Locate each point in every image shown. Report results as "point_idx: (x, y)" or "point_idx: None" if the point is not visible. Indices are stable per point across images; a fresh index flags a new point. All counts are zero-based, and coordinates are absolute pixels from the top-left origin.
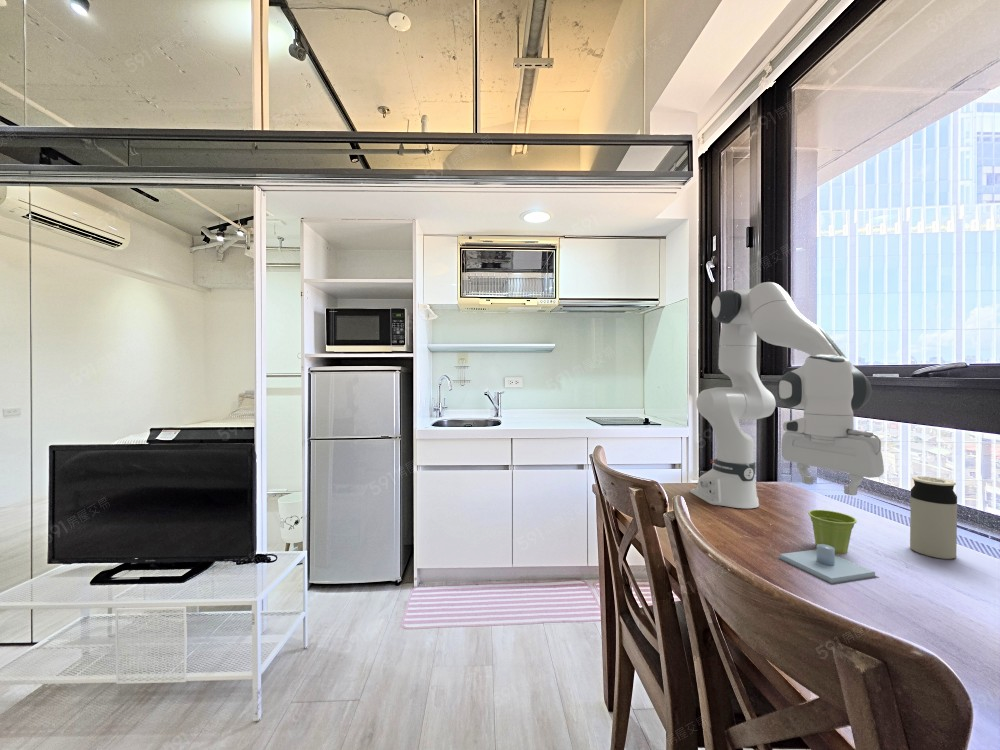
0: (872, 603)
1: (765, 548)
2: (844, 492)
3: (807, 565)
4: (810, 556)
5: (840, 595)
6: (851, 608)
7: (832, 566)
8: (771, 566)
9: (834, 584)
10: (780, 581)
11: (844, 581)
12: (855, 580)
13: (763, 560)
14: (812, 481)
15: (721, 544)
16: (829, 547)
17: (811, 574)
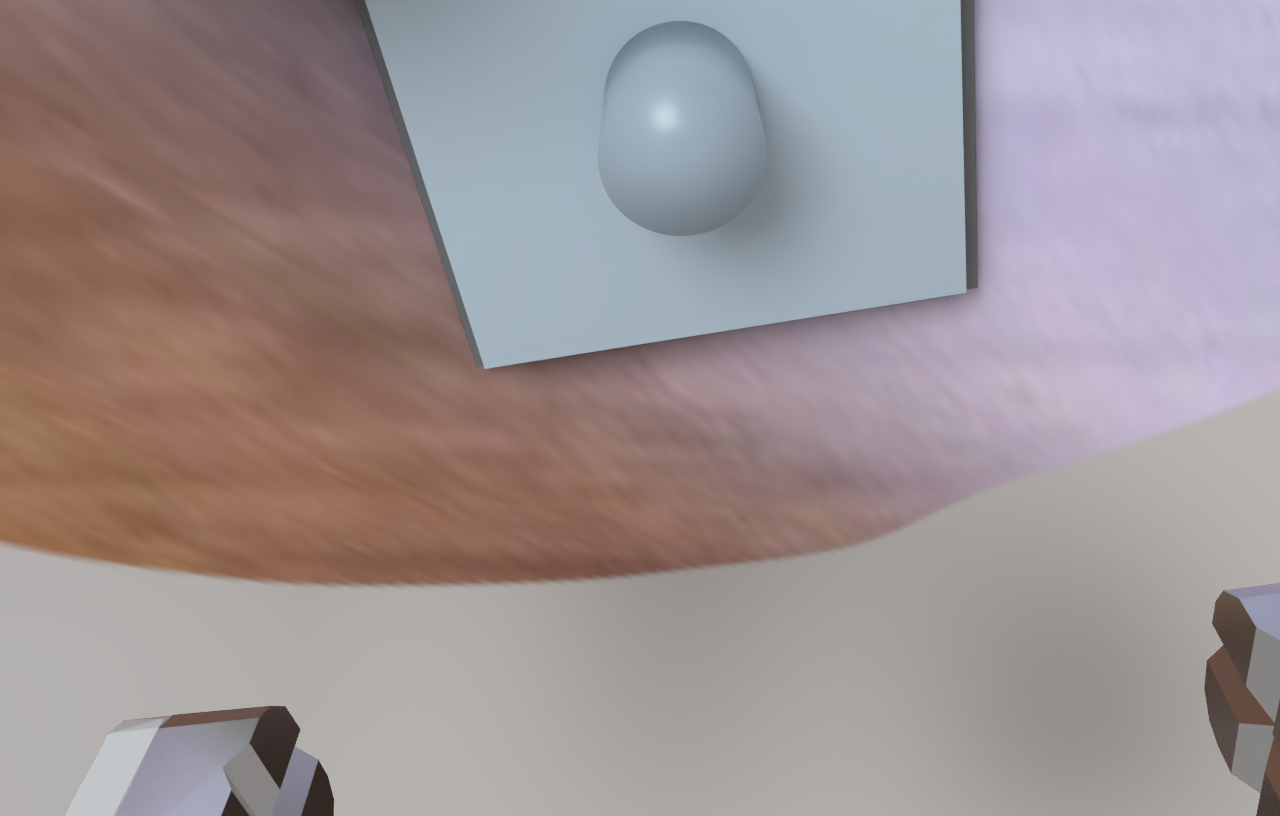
0: (1243, 173)
1: (217, 284)
2: (1224, 734)
3: (723, 308)
4: (536, 137)
5: (1078, 305)
6: (1229, 369)
7: (768, 100)
8: (591, 453)
9: (976, 265)
10: (816, 532)
11: None
12: (967, 28)
13: (483, 445)
14: (272, 775)
15: (191, 559)
16: (701, 128)
17: None
